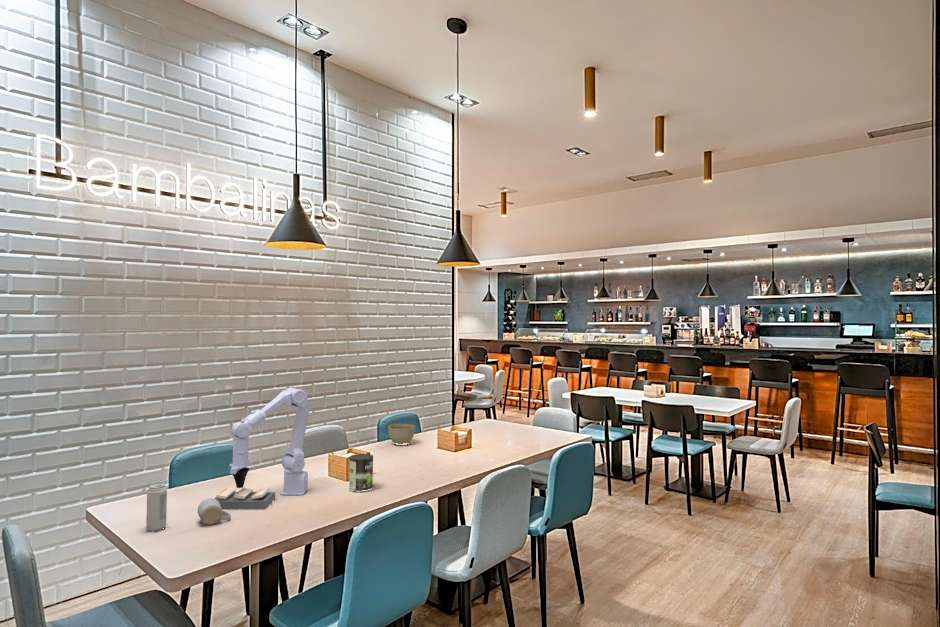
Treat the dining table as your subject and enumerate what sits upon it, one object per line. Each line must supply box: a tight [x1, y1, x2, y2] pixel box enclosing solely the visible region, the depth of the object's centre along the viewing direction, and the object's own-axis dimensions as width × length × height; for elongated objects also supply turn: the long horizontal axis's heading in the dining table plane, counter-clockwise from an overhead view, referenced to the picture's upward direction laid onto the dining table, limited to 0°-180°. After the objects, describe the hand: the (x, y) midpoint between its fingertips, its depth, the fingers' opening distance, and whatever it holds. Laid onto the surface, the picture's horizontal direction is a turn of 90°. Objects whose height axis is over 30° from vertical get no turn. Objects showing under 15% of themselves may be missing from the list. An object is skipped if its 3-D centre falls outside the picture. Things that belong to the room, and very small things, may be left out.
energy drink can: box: [145, 483, 168, 532], centre depth 190 cm, size 6×6×15 cm
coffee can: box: [348, 453, 374, 491], centre depth 238 cm, size 10×10×14 cm
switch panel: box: [213, 491, 276, 510], centre depth 216 cm, size 21×12×3 cm, turn 91°
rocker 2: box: [252, 487, 271, 499], centre depth 217 cm, size 4×9×1 cm, turn 2°
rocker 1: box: [215, 487, 237, 499], centre depth 216 cm, size 4×9×1 cm, turn 1°
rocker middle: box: [234, 487, 254, 499], centre depth 217 cm, size 4×9×1 cm, turn 1°
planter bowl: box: [387, 423, 416, 444], centre depth 325 cm, size 16×16×11 cm
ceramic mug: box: [197, 497, 232, 526], centre depth 198 cm, size 11×8×8 cm
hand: (240, 487), depth 216 cm, fingers closed
